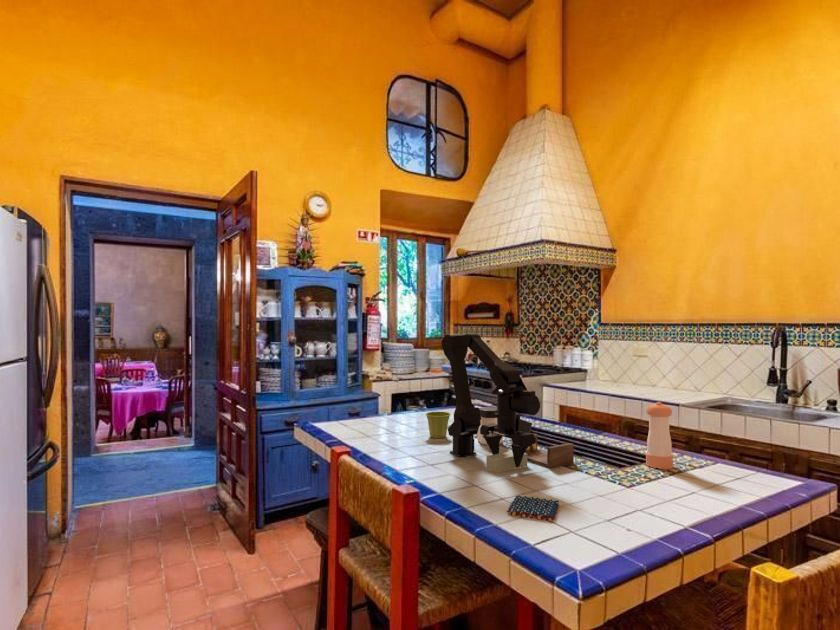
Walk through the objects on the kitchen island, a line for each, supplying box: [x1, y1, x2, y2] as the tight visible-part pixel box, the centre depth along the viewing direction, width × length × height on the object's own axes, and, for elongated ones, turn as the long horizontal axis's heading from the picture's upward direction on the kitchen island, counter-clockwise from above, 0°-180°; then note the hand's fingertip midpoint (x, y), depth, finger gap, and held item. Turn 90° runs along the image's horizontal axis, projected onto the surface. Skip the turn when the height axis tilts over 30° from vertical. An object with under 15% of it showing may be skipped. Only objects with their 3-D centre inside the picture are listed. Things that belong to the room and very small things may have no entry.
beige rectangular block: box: [485, 451, 528, 473], centre depth 149 cm, size 12×4×4 cm, turn 122°
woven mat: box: [506, 494, 560, 522], centre depth 115 cm, size 10×11×2 cm
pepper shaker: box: [645, 401, 674, 470], centre depth 151 cm, size 7×7×19 cm
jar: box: [477, 406, 503, 445], centre depth 181 cm, size 9×8×12 cm
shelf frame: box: [511, 433, 575, 469], centre depth 158 cm, size 16×10×6 cm, turn 32°
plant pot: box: [425, 411, 451, 439], centre depth 189 cm, size 9×9×9 cm
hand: (506, 463), depth 149 cm, fingers open, 9 cm apart
